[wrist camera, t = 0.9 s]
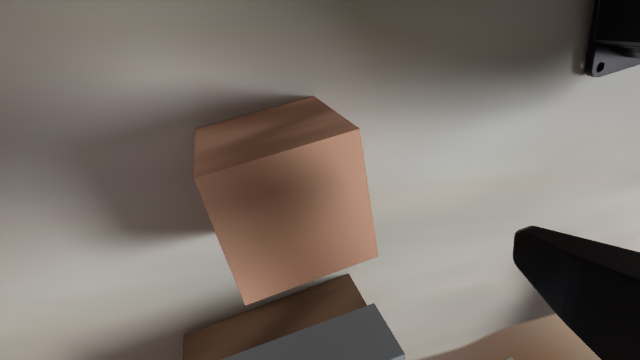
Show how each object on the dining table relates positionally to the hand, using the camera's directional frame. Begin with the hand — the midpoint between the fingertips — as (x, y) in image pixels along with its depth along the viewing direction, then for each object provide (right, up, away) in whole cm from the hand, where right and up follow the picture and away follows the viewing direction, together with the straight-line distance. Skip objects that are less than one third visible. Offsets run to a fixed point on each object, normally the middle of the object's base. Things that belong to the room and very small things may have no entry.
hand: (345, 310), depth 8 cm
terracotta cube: (-3, +4, +8) cm, 9 cm away
